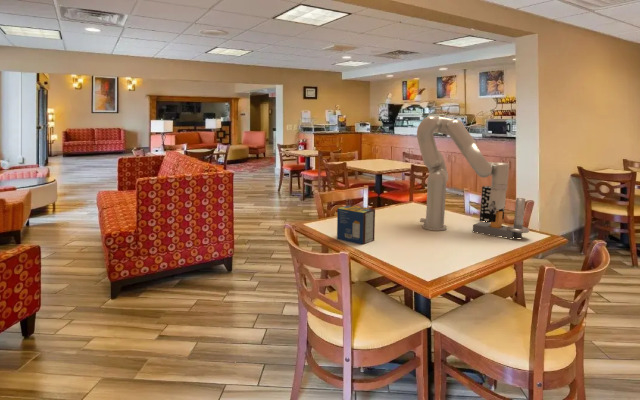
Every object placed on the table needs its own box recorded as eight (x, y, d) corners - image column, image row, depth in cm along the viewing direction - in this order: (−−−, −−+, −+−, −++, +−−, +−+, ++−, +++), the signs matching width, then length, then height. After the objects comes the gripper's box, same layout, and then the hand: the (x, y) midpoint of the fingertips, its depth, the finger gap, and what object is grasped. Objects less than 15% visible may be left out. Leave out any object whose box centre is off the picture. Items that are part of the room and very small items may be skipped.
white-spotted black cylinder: (488, 219, 252) (490, 185, 248) (498, 222, 244) (500, 188, 240) (476, 220, 249) (479, 186, 246) (486, 223, 241) (489, 188, 238)
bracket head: (472, 231, 221) (473, 224, 221) (480, 229, 228) (480, 221, 227) (511, 239, 207) (512, 231, 207) (518, 236, 214) (519, 228, 213)
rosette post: (502, 238, 210) (506, 198, 206) (510, 234, 217) (514, 196, 213) (523, 242, 203) (527, 201, 199) (531, 238, 210) (535, 198, 206)
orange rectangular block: (489, 234, 217) (491, 211, 215) (493, 232, 220) (495, 210, 218) (497, 235, 215) (499, 212, 212) (500, 234, 217) (502, 211, 215)
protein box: (348, 234, 214) (349, 204, 211) (374, 240, 204) (375, 208, 201) (336, 239, 206) (336, 207, 203) (362, 245, 196) (363, 212, 193)
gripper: (498, 184, 222) (496, 216, 225) (484, 187, 210) (481, 221, 213) (513, 186, 216) (510, 218, 219) (499, 189, 204) (496, 224, 208)
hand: (496, 220), depth 216 cm, fingers open, 9 cm apart
